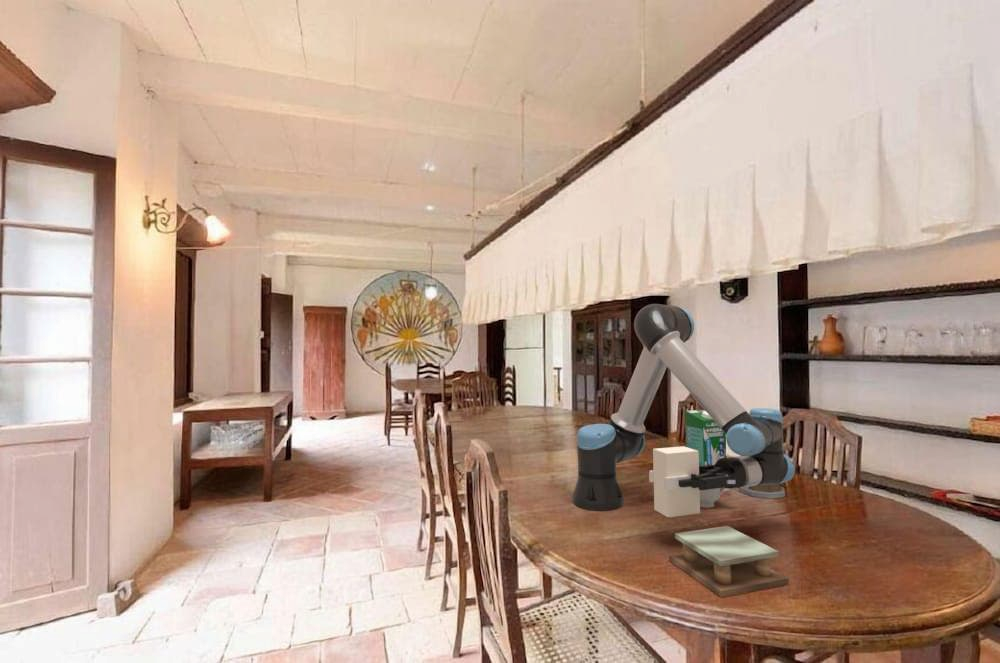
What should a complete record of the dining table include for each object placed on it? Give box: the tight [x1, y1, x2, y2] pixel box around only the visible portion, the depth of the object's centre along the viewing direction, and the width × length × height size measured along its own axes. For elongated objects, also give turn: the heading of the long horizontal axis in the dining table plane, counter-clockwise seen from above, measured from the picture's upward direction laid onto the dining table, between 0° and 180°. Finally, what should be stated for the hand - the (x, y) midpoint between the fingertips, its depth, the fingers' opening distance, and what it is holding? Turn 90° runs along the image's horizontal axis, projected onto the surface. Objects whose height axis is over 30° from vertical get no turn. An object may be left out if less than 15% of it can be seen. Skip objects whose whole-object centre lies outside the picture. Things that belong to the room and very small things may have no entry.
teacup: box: [700, 487, 735, 509], centre depth 137 cm, size 12×15×10 cm
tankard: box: [738, 442, 793, 500], centre depth 149 cm, size 20×13×15 cm, turn 105°
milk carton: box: [684, 409, 727, 466], centre depth 159 cm, size 9×9×25 cm
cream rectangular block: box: [652, 445, 701, 518], centre depth 112 cm, size 6×9×15 cm, turn 105°
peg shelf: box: [668, 525, 790, 598], centre depth 96 cm, size 16×16×6 cm
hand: (657, 480), depth 111 cm, fingers closed on cream rectangular block, 5 cm apart
